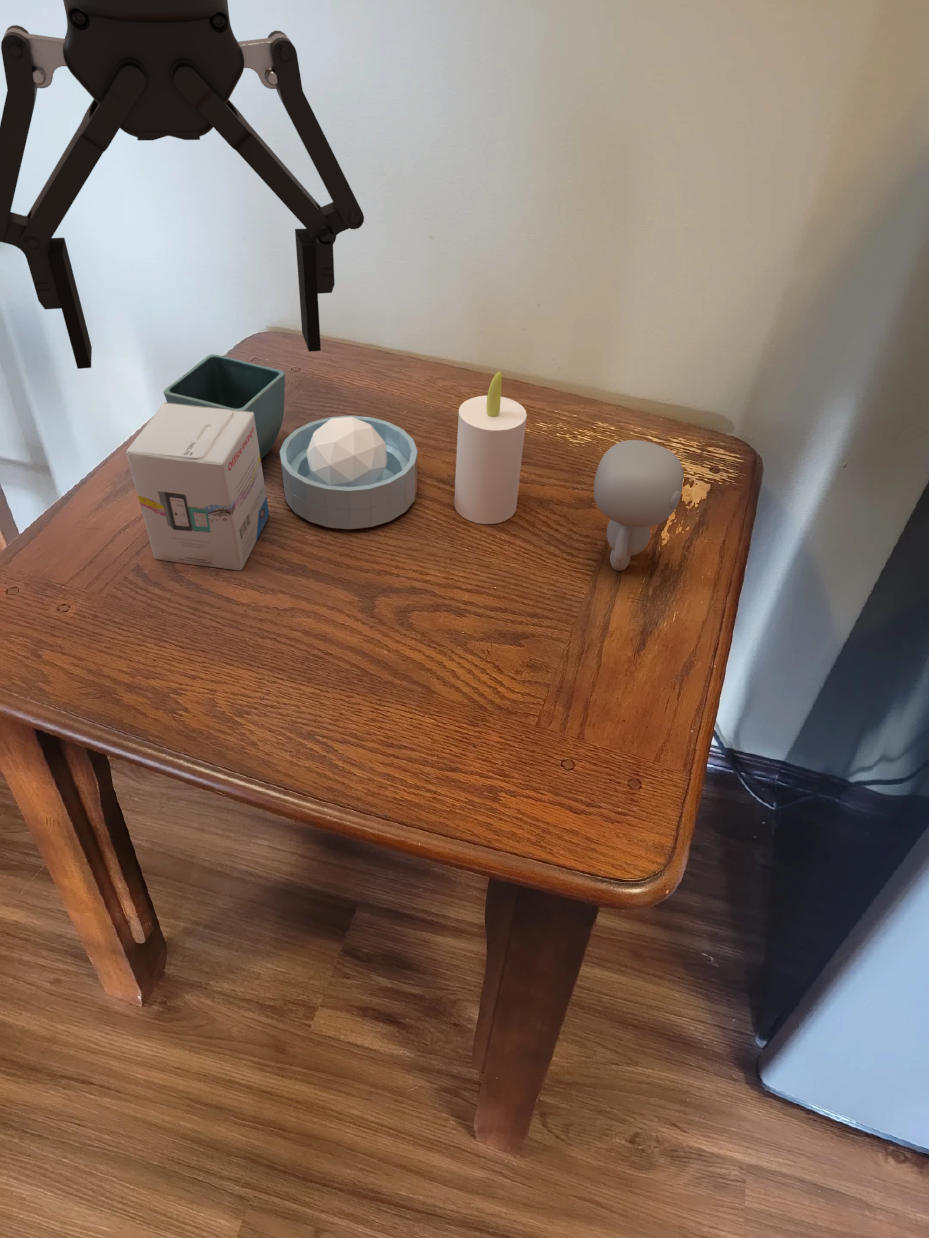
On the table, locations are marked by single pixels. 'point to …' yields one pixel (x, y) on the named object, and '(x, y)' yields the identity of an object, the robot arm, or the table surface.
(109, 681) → the table surface
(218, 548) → the ink box
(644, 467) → the figurine
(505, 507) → the candle
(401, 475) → the bowl
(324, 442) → the geometric ball
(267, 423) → the flower pot
